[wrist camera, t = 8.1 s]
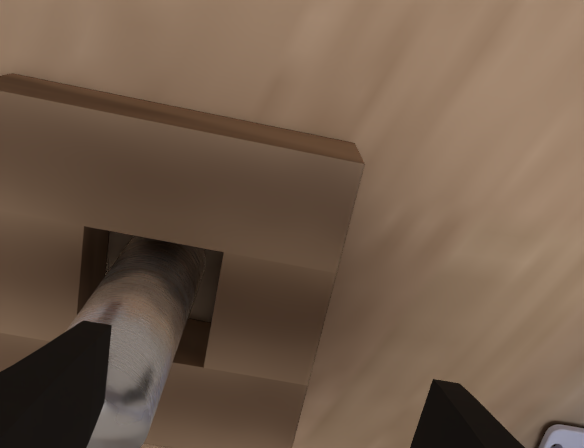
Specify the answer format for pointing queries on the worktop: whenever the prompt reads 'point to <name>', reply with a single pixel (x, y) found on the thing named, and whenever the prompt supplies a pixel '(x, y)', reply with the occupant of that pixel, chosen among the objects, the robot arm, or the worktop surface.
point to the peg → (141, 332)
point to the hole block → (182, 230)
